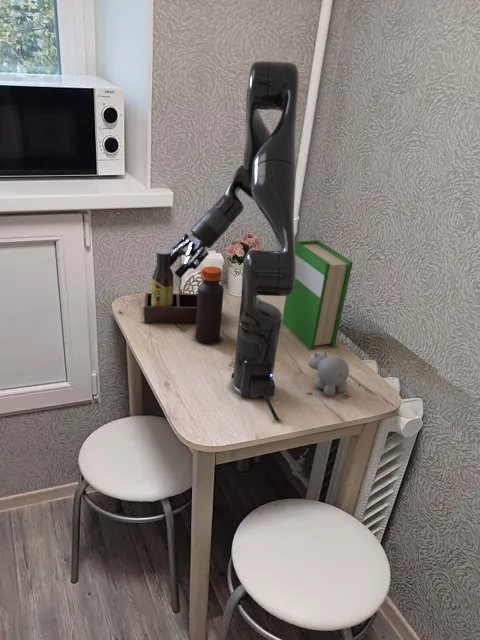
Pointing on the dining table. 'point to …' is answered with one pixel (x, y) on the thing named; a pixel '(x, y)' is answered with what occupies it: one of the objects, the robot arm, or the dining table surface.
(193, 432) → the dining table surface
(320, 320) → the hardback book
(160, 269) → the sauce bottle
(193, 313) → the divided storage box
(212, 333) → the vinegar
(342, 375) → the round bodied animal figurine
